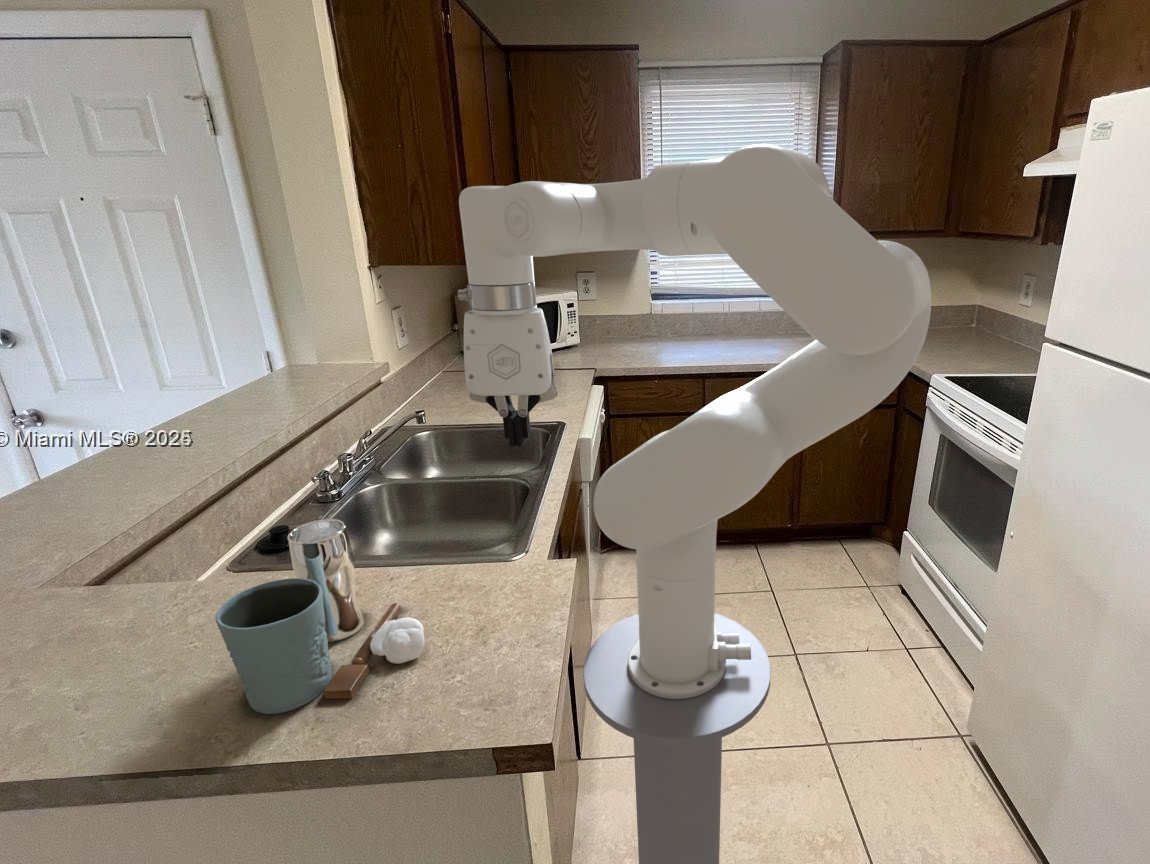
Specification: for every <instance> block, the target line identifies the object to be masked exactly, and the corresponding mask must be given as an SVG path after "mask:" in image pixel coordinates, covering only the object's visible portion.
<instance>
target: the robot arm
mask: <svg viewBox="0 0 1150 864" xmlns="http://www.w3.org/2000/svg"><path fill="white" fill-rule="evenodd" d="M458 207H459V208H458V209H459V215H460V223H461V224H460V225H461V230H462V232H461V233H462V239H463V248H464V257H465V264H466V272H467V278H468V280H467V281H468V284H466V287H465V288H463V289H461V288H460V289H458V290H457V299H458V301H460V302H462V301H463V302H466V303H468V305H469V308H471V310H468V311H465V312H464V319H463V362H464V376H465V384H466V388H467V390H468V392H469V399H470V400H471V401H474V402H480V403H484V404H487V405H489V406H490V407H491V408H493V409H494V411H496V412H497V413H498V416H499V417H501V418H502V423H503V432H504V433H503V434H504V438H505V440H508V444H509V447H510V448H515V447H518V448H523V447H524V446H525V444H526V442H527V441H528V439H530V438H531V436H532V432H531V431H532V430H531V420H530V419H531V418H530V412H531V411H532V410H533V409H534V408H535V407H536V406H537V404H539V403H545V402H548V401H552V400H554V399H556V397H557V395H558V390H557V388H556V385H555V366H554V357H553V351H552V344H551V340H550V335H549V330H548V325H547V321H546V318H545V314H544V311H543V309H542V308H541V307H538V304H537V293H536V282H535V270H534V259H533V258H540V257H541V258H543V257H553V256H562V255H571V254H583V253H596V252H608V251H609V252H612V251H613V252H614V251H637V250H638V251H641V250H642V251H644V250H648V251H655V252H656V253H657V254H658V255H660V256H665V257H678V256H679V257H680V256H702V255H703V256H704V255H706V256H707V255H728V256H729V258H731V260H732V261H734V263H735V264H736V265H737V266H738V267H739V268H740V270H742V271H743V272H744V273H745V274H746V275H747V276H748V277H749V278H750V279H751V280H752V281H753V282H754V283H755V284H756V285H757V286H758V287H759V288H760V289H761V290H762V291H763V292H765V293H766V295H767V296H768V297H770V298H771V300H773V301H774V302H775V303H776V304H777V305H778V306H779V307H780V308H781V309H782V310H783V311H784V312H785V313H786V314H787V315H788V316H789V317H790V318H791V319H792V320H793V321H794V322H795V323H796V324H798V326H800V327H801V328H802V329H803V330H804V331H805V332H806V333H807V334H809V336H810V337H812V338H813V339H814V340H813V342H811V343H809V344H808V345H806V346H805V347H804V348H802V349H800V350H799V351H796V352H795V353H794V354H793V355H791V356H790V357H788V358H787V359H786V360H784V361H783V362H781V363H780V364H778V365H777V366H775V367H773V368H771V369H770V370H768V371H767V372H765V373H764V374H762V375H760V376H759V377H756V378H755V379H753V380H752V381H750V382H748V383H746V384H744V385H743V386H740V387H739V388H737V389H734V390H731V391H729V392H727V393H725V394H722V395H721V396H719V397H718V398H716V399H714V400H713V401H711V402H709V403H708V404H706V405H705V406H704V407H702V408H701V409H699V410H698V411H696V412H694V414H691V415H690V416H689V417H687V418H686V419H684V420H683V421H681V422H680V423H678V424H677V425H675V426H674V427H673V428H670V429H668V430H665V431H662V432H660V433H659V434H656V435H654V436H653V437H651V438H650V439H648V440H647V441H646V442H644V443H642V444H641V445H640V446H638V447H636V448H635V449H634V450H633V451H631V452H630V453H629V454H627V455H625V456H624V457H623V458H621V459H620V460H618V461H617V462H615V463H613V464H612V465H611V466H609V468H608V469H606V470H605V471H604V473H603V474H602V475H601V477H600V478H599V480H598V482H597V484H596V486H595V489H594V493H593V506H592V507H593V514H594V517H595V518H594V519H595V520H596V523H597V525H598V527H599V528H600V530H601V531H602V532H603V534H604V535H605V536H606V537H607V538H608V539H609V540H611V541H613V542H614V543H616V544H617V545H620V546H622V547H624V548H627V549H632V550H635V552H636V553H635V555H636V560H635V561H636V585H637V614H638V617H639V640H638V641H637V642H636V643H635V644H634V645H633V647H632V648H631V650H630V652H629V656H628V669H629V673H630V676H631V678H632V679H633V681H634V682H635V683H636V684H637V685H638V686H639V687H640V688H641V689H643V690H644V691H646V692H648V693H650V694H652V695H655V696H658V697H662V698H667V699H686V698H691V697H695V696H699V695H701V694H704V693H706V692H708V691H709V690H711V689H712V688H714V687H715V686H716V685H717V684H718V683H719V682H720V680H721V679H722V677H723V675H724V673H725V669H726V659H737V660H751V645H750V644H739V633H731V634H721V633H720V632H716V625H715V621H714V613H716V611H715V607H716V605H715V604H716V602H715V600H716V593H715V592H716V561H717V533H718V531H717V530H718V520H719V519H721V518H724V517H725V516H727V515H729V514H731V513H732V512H734V511H736V510H738V509H739V508H741V507H742V506H744V505H745V504H747V503H748V502H749V501H751V500H752V499H753V498H754V497H756V495H758V494H759V493H760V491H762V489H763V488H765V486H766V485H767V484H768V482H769V481H770V480H771V479H772V477H774V475H775V474H776V473H777V472H778V470H779V469H780V468H781V467H782V466H783V465H784V464H785V463H786V462H787V461H788V460H789V459H790V458H792V457H793V456H795V455H797V454H799V453H800V452H802V451H803V450H805V449H807V448H809V447H810V446H812V445H814V444H816V443H818V442H819V441H822V440H824V439H825V438H827V437H829V436H830V435H832V434H834V433H835V432H837V431H838V430H840V429H842V428H844V427H846V426H847V425H849V424H851V423H853V422H854V421H856V420H857V419H860V418H861V417H863V416H865V415H866V414H867V413H869V412H870V411H872V410H873V409H874V408H876V407H877V406H878V405H879V404H880V403H882V402H883V401H884V400H885V399H886V398H888V397H889V396H890V394H892V393H893V392H894V390H896V388H897V387H898V386H899V385H900V384H901V382H902V381H904V379H905V378H906V376H907V375H908V373H909V372H910V370H911V369H912V368H913V365H914V364H915V362H916V360H917V359H918V357H919V355H920V353H921V351H922V349H923V346H924V343H925V341H926V338H927V335H928V330H929V327H930V326H929V325H930V320H931V311H932V288H931V280H930V276H929V272H928V270H927V267H926V265H925V264H924V262H923V260H922V258H921V257H920V256H919V255H918V254H917V252H915V251H914V250H913V249H912V248H910V247H908V246H906V245H904V244H901V243H899V242H896V241H892V240H877V239H876V238H875V237H874V236H873V235H872V234H870V233H869V232H868V231H867V230H866V229H865V228H864V227H862V225H861V224H859V222H857V221H856V220H855V219H854V218H853V217H851V216H850V214H848V213H847V212H846V211H845V210H844V209H843V208H842V207H841V206H840V205H839V204H838V203H837V202H836V201H835V200H834V199H832V197H831V191H830V185H829V182H828V179H827V177H826V175H825V172H824V171H823V170H822V167H821V166H820V165H819V164H818V163H817V162H816V161H815V160H814V159H812V158H811V157H810V156H808V155H806V154H804V153H801V152H799V151H794V150H792V149H789V148H785V147H782V146H778V145H775V144H769V143H759V144H758V143H757V144H750V145H747V146H743V147H740V148H738V149H736V150H734V151H732V152H731V153H730V154H728V155H726V156H725V157H721V158H713V159H712V158H711V159H704V160H703V159H702V160H691V161H681V162H679V161H678V162H668V163H663V164H659V165H657V166H655V167H654V168H652V170H651V171H650V172H649V174H648V176H646V177H643V178H638V179H632V180H623V181H613V182H604V183H602V182H601V183H573V182H557V181H541V180H528V181H527V180H526V181H521V182H517V183H513V184H509V185H475V186H474V185H473V186H469V187H466V188H464V189H462V190H461V192H460V194H459V197H458ZM512 396H517V410H516V408H515V407H514V404H513V401H512ZM725 644H729V645H725ZM731 644H736V645H731Z"/></svg>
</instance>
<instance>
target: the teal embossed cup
mask: <svg viewBox="0 0 1150 864" xmlns="http://www.w3.org/2000/svg"><path fill="white" fill-rule="evenodd" d="M215 623H216V625H217V627H218V630H219V632H220V634H221V637H222V639H223V641H224V643H225V646H226V649H227V651H228V652H229V657H230V658H231V659H232V660H231V662H232V663H233V665H234V667H235V669H236V673H237V675H238V677H239V679H238V680H239V681H240V685H241V686H242V689H243V691H245V696H246V700H247V701H248V704H249V706H250V707H251V709H253V710H254V711H255V712H257V713H259V714H264V715H277V714H282V713H286V712H290V711H293V710H296V709H298V708H301V707H303V706H305V705H307V704H308V703H310V702H312V701H313V700H315V699H316V698H317V697H318V696H320V695H321V694H322V693H324V692H323V690H324V689H325V688H326V686H327V685H328V683H329V682H330V681H331V679H332V665H331V659H330V658H331V657H330V653H329V651H328V650H329V646H328V645H329V644H328V643H329V642H328V640H327V634H326V632H325V629H324V628H325V616H324V609H323V595H322V589H321V586H320V585H319V584H318V583H316V582H315V581H312V580H309V579H304V578H296V577H292V578H283V579H276V580H272V581H268V582H264V583H260V584H257V585H256V586H252V587H249V588H247V589H245V590H243V591H241V592H239V593H237V594H236V595H234V596H232V597H231V598H229V599H228V600H227V601H225V602H224V603H223V604H222V606H221V607H219V609H218V610H217V612H216V614H215Z"/></svg>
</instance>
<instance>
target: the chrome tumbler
mask: <svg viewBox="0 0 1150 864" xmlns="http://www.w3.org/2000/svg"><path fill="white" fill-rule="evenodd" d="M287 542H288V549H289V554H290V555H289V556H290V561H291V565H292V569H293V573H294V575H295V578H304V579H309V580H312V581H315V582H316V583H318V584H319V585H320V586H321V589H322V595H323V609H324V616H325V628H324V629H325V632H326V634H327V640H328V643H332V642H339V641H343V640H345V639H347V638H349V637H351V636H353V635H355V634H357V633H358V632H359V631H360V630H361V629H362V628H363V626H364V624H365V617H364V614H363V612H362V611H361V608H360V607H359V604H358V600H357V595H356V594H357V593H356V559H355V554H354V550H353V546H352V542H351V539H350V535H349V532H348V530H347V527H346V522H345V521H343V520H341V519H336V518H325V519H323V518H322V519H318V520H313V521H309V522H306V523H303V524H301V525H299V526H297V527H295V528H293V530H291V531H290V532H289V533H288V535H287Z"/></svg>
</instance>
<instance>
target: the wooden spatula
mask: <svg viewBox="0 0 1150 864" xmlns="http://www.w3.org/2000/svg"><path fill="white" fill-rule="evenodd" d="M401 611H402V606H401V605H400V603H398V602H394V603H391V604H390V605H389V607H388V608H387V609H386V611H385V613H384V614H383V615H382V617H381V618H380V620H378V622H377V624H376V625H375V627H374V628H373V629H372V631H371V632H370V634H369V635H368V636H367V638H366V640H365V641H364V642H363V644H362V645H361V647H360V648H359V649H358V650H357V652H356V654H355V655H354V656H353V658H352V659H351V662H350V664H341V665H340V667H339V668H338V670H337V671H336V672H335V674H333V676H332V677H331V680H330V682H329V683H328V685H327V686H326V688H325V689H324V690H323V692H322V693H323V696H324V699H325V700H331V699H333V700H334V699H337V700H338V699H353V698H354V697H355V695H356V693H357V692H358V690H359V689H360V687H361V686H362V684H363V683H364V681H365V679H366V678H367V677H368V675H369V674H370V669H369V665H368V664H367V662H368V661H369V659H370V658H371V656H372V655H373V653H372V651H371V649H370V643H371V641H372V638H373V636H374V635H375V634H376V632H377V631H378V630H379V629H380V628H381V627H382V626H383V625H384V624H385V623H387V622H388V621H391V620H397V617H398V616H399V615H400V613H401ZM372 635H373V636H372ZM371 636H372V637H371Z"/></svg>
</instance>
